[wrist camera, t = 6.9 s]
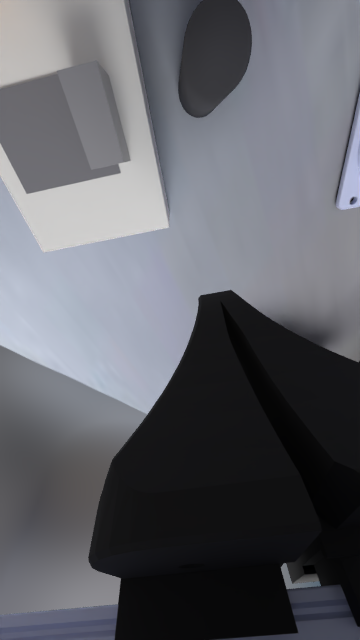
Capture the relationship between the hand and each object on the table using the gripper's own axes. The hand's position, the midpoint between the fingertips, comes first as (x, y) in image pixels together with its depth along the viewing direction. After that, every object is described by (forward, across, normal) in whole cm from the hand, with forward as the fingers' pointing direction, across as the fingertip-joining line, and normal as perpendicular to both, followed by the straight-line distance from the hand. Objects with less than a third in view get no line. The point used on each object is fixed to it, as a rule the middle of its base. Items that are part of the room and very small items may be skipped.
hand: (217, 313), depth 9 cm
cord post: (+10, -2, -8) cm, 13 cm away
